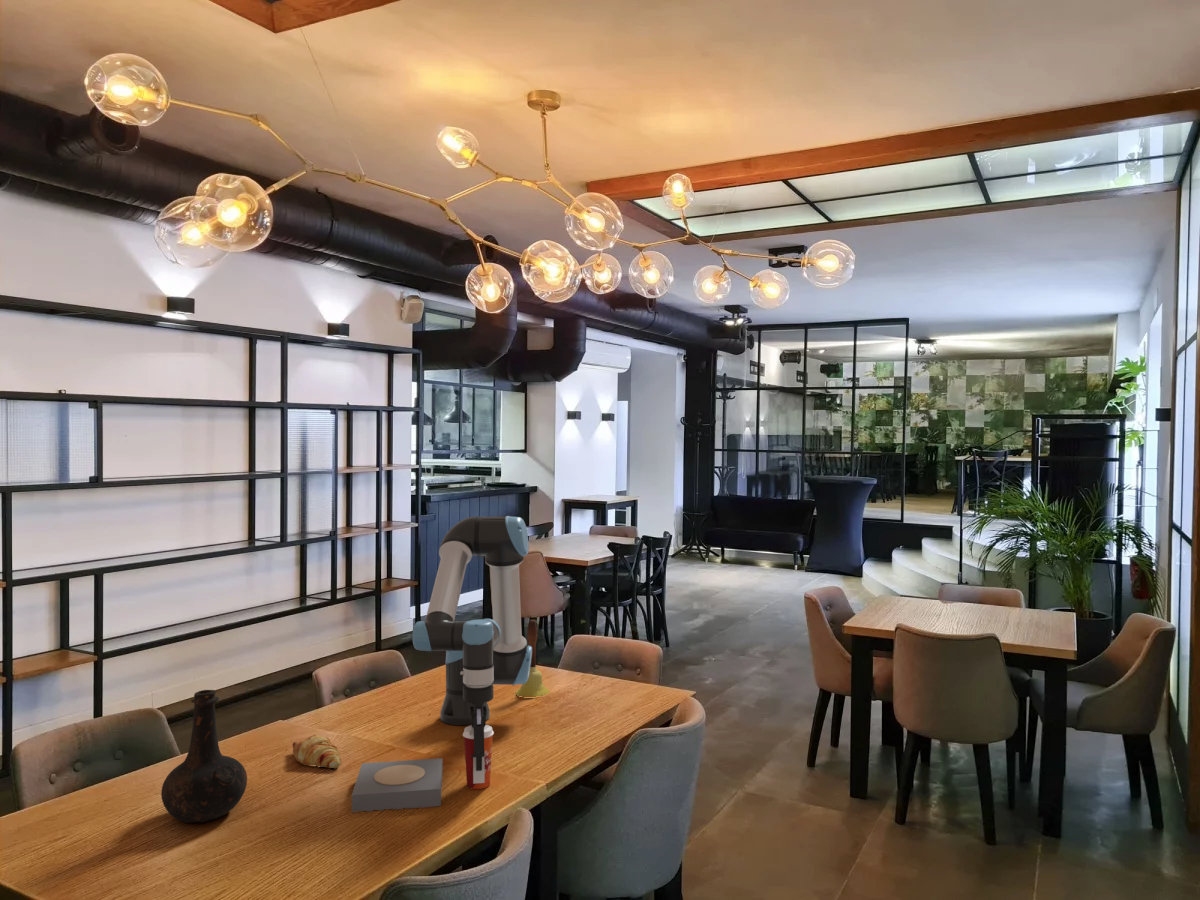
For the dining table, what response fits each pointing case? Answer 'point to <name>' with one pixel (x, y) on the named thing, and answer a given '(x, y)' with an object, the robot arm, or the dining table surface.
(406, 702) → the dining table surface
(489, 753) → the paper cup
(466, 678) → the robot arm
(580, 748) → the dining table surface
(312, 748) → the croissant
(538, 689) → the handbell
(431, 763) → the plinth
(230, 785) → the glass bottle
